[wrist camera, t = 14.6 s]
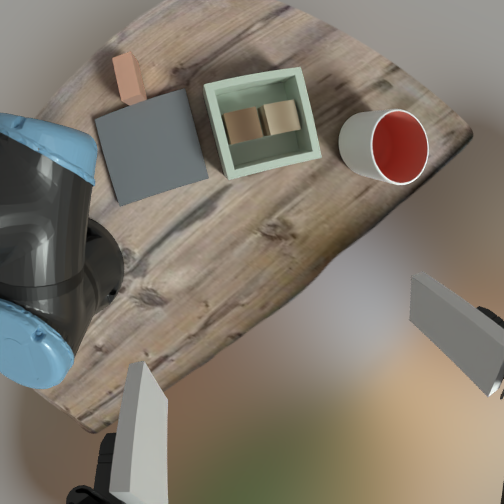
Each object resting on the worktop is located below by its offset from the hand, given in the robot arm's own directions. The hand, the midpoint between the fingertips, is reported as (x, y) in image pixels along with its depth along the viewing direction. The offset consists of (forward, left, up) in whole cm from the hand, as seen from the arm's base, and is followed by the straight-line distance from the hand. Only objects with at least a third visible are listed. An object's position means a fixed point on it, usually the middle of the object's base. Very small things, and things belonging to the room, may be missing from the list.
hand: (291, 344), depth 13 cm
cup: (+23, +4, -32) cm, 40 cm away
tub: (+7, +10, -32) cm, 34 cm away
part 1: (+4, +10, -31) cm, 33 cm away
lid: (-8, +14, -32) cm, 36 cm away
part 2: (+10, +10, -31) cm, 34 cm away
